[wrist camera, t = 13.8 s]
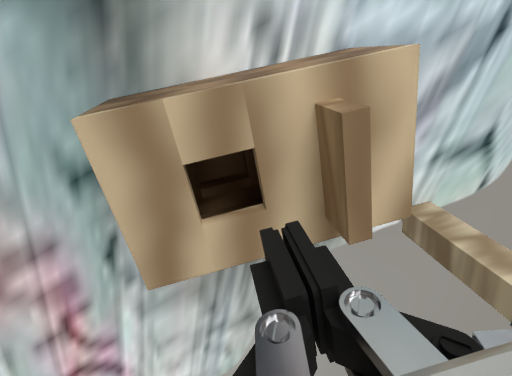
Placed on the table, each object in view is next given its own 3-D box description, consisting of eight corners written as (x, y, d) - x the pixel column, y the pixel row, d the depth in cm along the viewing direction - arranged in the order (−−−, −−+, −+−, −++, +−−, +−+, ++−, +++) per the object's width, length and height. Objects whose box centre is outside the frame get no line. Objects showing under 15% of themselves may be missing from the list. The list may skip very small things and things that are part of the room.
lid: (149, 280, 21) (140, 332, 17) (76, 116, 16) (39, 136, 12) (402, 210, 24) (446, 241, 20) (408, 44, 18) (470, 41, 14)
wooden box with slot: (159, 228, 28) (150, 277, 22) (109, 99, 23) (78, 115, 17) (356, 176, 30) (400, 208, 24) (351, 47, 25) (405, 44, 19)
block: (401, 233, 34) (523, 336, 22) (402, 207, 33) (534, 301, 20) (428, 226, 35) (564, 322, 22) (430, 199, 33) (578, 287, 21)
